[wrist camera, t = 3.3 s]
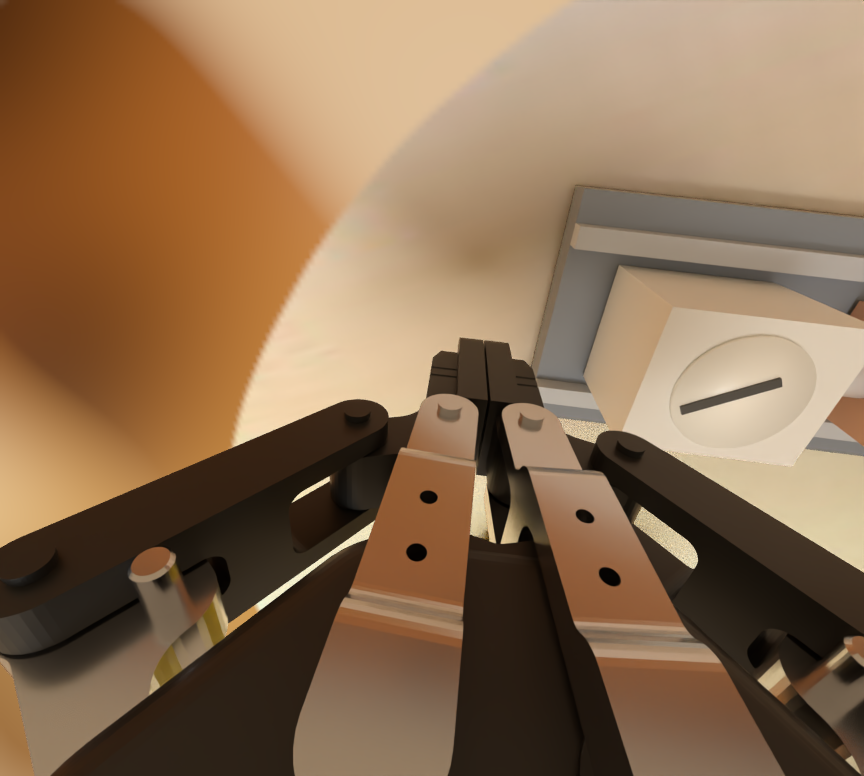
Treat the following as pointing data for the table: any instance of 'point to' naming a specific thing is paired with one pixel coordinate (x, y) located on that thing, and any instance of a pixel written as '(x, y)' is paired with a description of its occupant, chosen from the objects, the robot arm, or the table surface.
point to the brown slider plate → (851, 403)
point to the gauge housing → (721, 364)
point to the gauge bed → (692, 253)
